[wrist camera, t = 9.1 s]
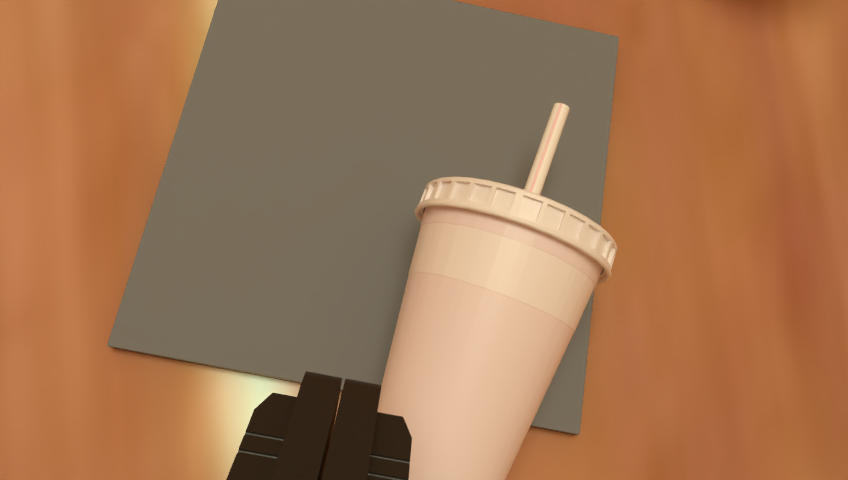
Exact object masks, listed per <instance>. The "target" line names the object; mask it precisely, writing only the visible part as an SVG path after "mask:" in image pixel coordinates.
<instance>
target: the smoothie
mask: <svg viewBox="0 0 848 480" xmlns="http://www.w3.org/2000/svg"><path fill="white" fill-rule="evenodd" d="M569 110H570V108H569V107H568V106H567V105H565V104H563V103H555V104H554V106H553V108H552V111H551V114H550V117H549V120H548V123H547V125H546V128H545V131H544V134H543V137H542V140H541V143H540V145H539V148H538V151H537V154H536V157H535V160H534V163H533V165H532V168H531V171H530V174H529V177H528V180H527V182H526V185H525V188H524V189H520V188H517V187H514V186H510V185H506V184H502V183H498V182H494V181H489V180H483V179H477V178H470V177H442V178H439V179H435V180H432V181H431V182H429V183H428V184H427V185H426V188H425V190H424V193H423V195H422V198H421V201H420V203H419V204H418V206H417V207H416V209H415V210H414V213H415V215H416V217H417V220H418V221H419V222H420V223H421V226H420V232H419V236H418V239H417V243H416V247H415V251H414V255H413V258H412V262H411V266H410V270H409V273H408V279H407V283H406V288H405V292H404V296H403V300H402V304H401V308H400V312H399V316H398V320H397V324H396V328H395V332H394V336H393V340H392V345H391V349H390V353H389V357H388V361H387V365H386V369H385V373H384V377H383V381H382V385H381V392H380V399H379V405H378V411H377V412H380V413H386V414H391V415H397V416H402V417H403V418H404V420H405V422H406V425H407V427H408V430H409V432H410V434H411V437H412V445H411V457H410V464H409V465H410V468H409V479H408V480H506V478H507V475H508V473H509V471H510V469H511V467H512V465H513V462H514V460H515V458H516V456H517V454H518V452H519V450H520V447H521V445H522V443H523V441H524V439H525V437H526V434H527V432H528V430H529V428H530V426H531V424H532V422H533V419H534V417H535V415H536V413H537V411H538V409H539V406H540V404H541V402H542V400H543V398H544V396H545V394H546V391H547V389H548V387H549V385H550V383H551V381H552V378H553V376H554V374H555V372H556V370H557V368H558V366H559V363H560V361H561V359H562V357H563V355H564V353H565V350H566V348H567V346H568V344H569V342H570V340H571V338H572V335H573V334H574V332H575V330H576V328H577V325H578V323H579V321H580V319H581V316H582V314H583V312H584V310H585V307H586V305H587V303H588V301H589V298H590V296H591V294H592V291H593V289H594V288H595V286H596V284H599V283H604V282H607V281H608V279H609V278H610V277H611V276H612V274H611V267H612V264H613V261H614V258H615V255H616V252H617V245H616V243H615V241H614V240H613V238H612V237H611V236H610V234H609V233H608V232H606V231H605V230H604V229H603V228H602V227H601V226H600V225H598V224H597V223H595V222H594V221H592V220H591V219H589V218H588V217H586V216H584V215H583V214H581V213H579V212H577V211H575V210H573V209H571V208H569V207H567V206H565V205H563V204H560V203H558V202H556V201H554V200H551V199H549V198H546V197H544V196H541V195H540V194H541V191H542V188H543V185H544V182H545V179H546V177H547V174H548V171H549V168H550V165H551V162H552V159H553V156H554V153H555V150H556V148H557V145H558V142H559V139H560V136H561V133H562V130H563V127H564V124H565V121H566V119H567V116H568V113H569Z"/></svg>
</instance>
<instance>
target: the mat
mask: <svg viewBox="0 0 848 480" xmlns="http://www.w3.org/2000/svg"><path fill="white" fill-rule="evenodd" d="M618 41H619V37H618V36H613V35H608V34H604V33H599V32H595V31H590V30H586V29H581V28H576V27H572V26H567V25H563V24H558V23H554V22H549V21H544V20H540V19H535V18H531V17H526V16H522V15H517V14H512V13H508V12H503V11H499V10H494V9H490V8H485V7H480V6H476V5H471V4H467V3H462V2H458V1H453V0H218V2H217V6H216V9H215V12H214V15H213V18H212V21H211V24H210V27H209V30H208V34H207V37H206V40H205V43H204V46H203V49H202V52H201V55H200V58H199V62H198V65H197V68H196V71H195V74H194V77H193V80H192V83H191V86H190V90H189V93H188V96H187V99H186V102H185V105H184V108H183V111H182V114H181V118H180V121H179V124H178V127H177V130H176V133H175V136H174V139H173V142H172V146H171V149H170V152H169V155H168V158H167V161H166V164H165V167H164V170H163V174H162V177H161V180H160V183H159V186H158V189H157V192H156V195H155V198H154V202H153V205H152V208H151V211H150V214H149V217H148V220H147V223H146V226H145V230H144V233H143V236H142V239H141V242H140V245H139V248H138V251H137V254H136V258H135V261H134V264H133V267H132V270H131V273H130V276H129V279H128V282H127V286H126V289H125V292H124V295H123V298H122V301H121V304H120V307H119V310H118V313H117V317H116V320H115V323H114V326H113V329H112V332H111V335H110V338H109V341H108V345H107V346H109V347H112V348H117V349H122V350H127V351H133V352H138V353H143V354H148V355H154V356H159V357H164V358H170V359H175V360H180V361H186V362H191V363H196V364H202V365H207V366H212V367H218V368H223V369H228V370H234V371H239V372H244V373H250V374H255V375H260V376H265V377H271V378H276V379H281V380H287V381H292V382H297V383H302V380H303V377H304V374H305V372H306V371H308V372H313V373H319V374H324V375H329V376H335V377H340V378H342V384H341V390H340V391H343V386H344V382H345V379H352V380H357V381H362V382H368V383H373V384H378V385H382V381H383V377H384V373H385V369H386V365H387V361H388V357H389V353H390V349H391V345H392V340H393V336H394V332H395V328H396V324H397V320H398V316H399V312H400V308H401V304H402V300H403V296H404V292H405V288H406V283H407V279H408V273H409V270H410V266H411V262H412V258H413V255H414V251H415V247H416V243H417V239H418V236H419V232H420V226H421V223H420V222H419V221H418V220H417V217H416V215H415V213H414V210H415V209H416V207H417V206H418V204H419V203H420V201H421V198H422V195H423V193H424V190H425V188H426V185H427V184H428V183H429V182H431V181H432V180H435V179H439V178H442V177H470V178H477V179H483V180H489V181H494V182H498V183H502V184H506V185H510V186H514V187H517V188H520V189H524V188H525V185H526V182H527V180H528V177H529V174H530V171H531V168H532V165H533V163H534V160H535V157H536V154H537V151H538V148H539V145H540V143H541V140H542V137H543V134H544V131H545V128H546V125H547V123H548V120H549V117H550V114H551V111H552V108H553V106H554V104H555V103H563V104H565V105H567V106H568V107H569V108H570V110H569V113H568V116H567V119H566V121H565V124H564V127H563V130H562V133H561V136H560V139H559V142H558V145H557V148H556V150H555V153H554V156H553V159H552V162H551V165H550V168H549V171H548V174H547V177H546V179H545V182H544V185H543V188H542V191H541V194H540V195H541V196H544V197H546V198H549V199H551V200H554V201H556V202H558V203H560V204H563V205H565V206H567V207H569V208H571V209H573V210H575V211H577V212H579V213H581V214H583V215H584V216H586V217H588V218H589V219H591V220H592V221H594V222H595V223H597V224H598V225H600V223H601V213H602V202H603V192H604V182H605V172H606V162H607V152H608V142H609V132H610V122H611V112H612V102H613V91H614V81H615V71H616V61H617V51H618ZM593 293H594V289H593V291H592V294H591V296H590V298H589V301H588V303H587V305H586V307H585V310H584V312H583V314H582V316H581V319H580V321H579V323H578V325H577V328H576V330H575V332H574V334H573V335H572V338H571V340H570V342H569V344H568V346H567V348H566V350H565V353H564V355H563V357H562V359H561V361H560V363H559V366H558V368H557V370H556V372H555V374H554V376H553V378H552V381H551V383H550V385H549V387H548V389H547V391H546V394H545V396H544V398H543V400H542V402H541V404H540V406H539V409H538V411H537V413H536V415H535V417H534V419H533V422H532V424H531V427H537V428H542V429H547V430H553V431H558V432H563V433H569V434H574V435H578V434H580V424H581V414H582V404H583V394H584V384H585V374H586V364H587V354H588V344H589V334H590V323H591V313H592V303H593Z"/></svg>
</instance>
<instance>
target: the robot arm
mask: <svg viewBox="0 0 848 480" xmlns="http://www.w3.org/2000/svg"><path fill="white" fill-rule="evenodd" d="M341 384H342V378H340V377H335V376H329V375H324V374H319V373H313V372H308V371H306V372H305V374H304V377H303V380H302V383H301V387H300V390H299V393H298V396H297V397H293V396H288V395H282V394H277V393H272V394H271V395H270V396H269V397H268V398H266V399H265V400H264V401H263V402H262V403H261V404H260V405H259V406H258V407H257V408H255V409H254V412H253V414H252V417H251V419H250V422H249V424H248V427H247V429H246V433H245V435H244V437H243V440H242V442H241V445H240V447H239V451H238V453H237V455H236V457H235V460H234V462H233V465H232V467H231V470H230V472H229V475H228V477H227V480H408V479H409V468H410V465H409V464H410V457H411V445H412V437H411V434H410V432H409V430H408V427H407V425H406V422H405V420H404V418H403V417H402V416H397V415H391V414H386V413H380V412H377V411H378V405H379V399H380V392H381V385H378V384H373V383H368V382H362V381H357V380H352V379H345V382H344V386H343V391H342V395H341V399H340V403H339V408H338V412H337V406H338V401H339V395H340V390H341ZM336 412H337V416H336ZM335 417H336V420H335ZM334 423H335V425H334ZM333 428H334V429H333Z"/></svg>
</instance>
